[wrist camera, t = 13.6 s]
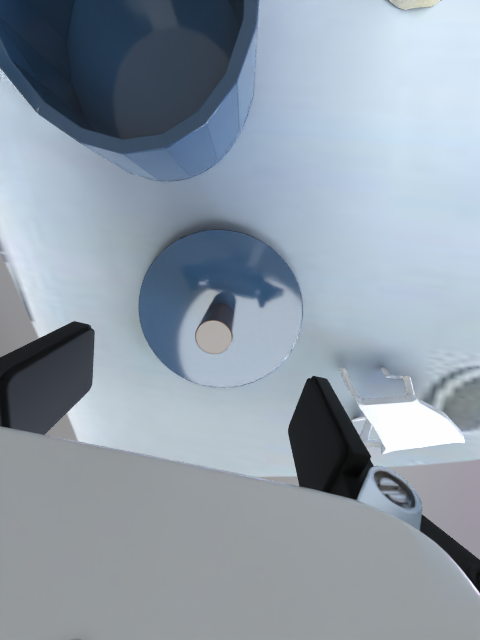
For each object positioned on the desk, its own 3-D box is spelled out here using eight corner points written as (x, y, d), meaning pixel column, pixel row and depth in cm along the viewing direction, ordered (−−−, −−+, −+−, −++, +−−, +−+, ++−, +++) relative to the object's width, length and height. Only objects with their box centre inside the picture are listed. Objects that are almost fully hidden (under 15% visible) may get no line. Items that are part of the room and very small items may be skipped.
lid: (154, 210, 20) (117, 197, 14) (322, 253, 21) (352, 258, 15) (135, 363, 24) (102, 401, 18) (274, 394, 25) (283, 439, 19)
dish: (63, -94, 15) (-70, -342, 8) (279, -24, 15) (302, -204, 9) (60, 156, 19) (-31, 112, 12) (231, 201, 19) (225, 182, 13)
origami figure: (318, 425, 26) (335, 465, 21) (334, 355, 23) (357, 383, 19) (428, 434, 26) (469, 476, 21) (456, 365, 24) (509, 396, 19)
